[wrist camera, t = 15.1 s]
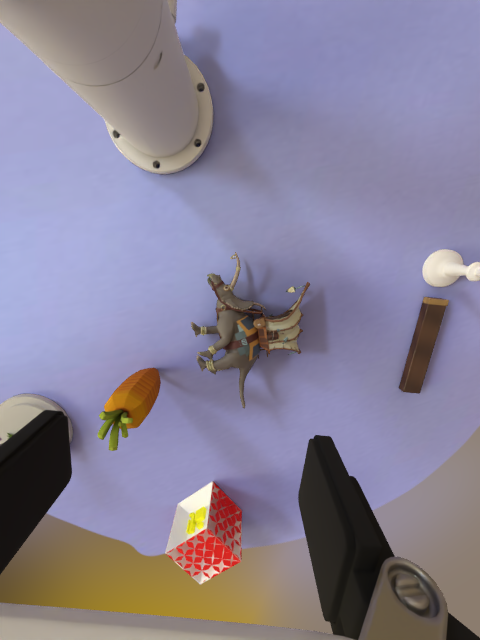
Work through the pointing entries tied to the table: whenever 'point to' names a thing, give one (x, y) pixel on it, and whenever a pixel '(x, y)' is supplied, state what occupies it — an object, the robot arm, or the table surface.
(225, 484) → the table surface
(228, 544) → the red patterned box
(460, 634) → the robot arm
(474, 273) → the chess piece
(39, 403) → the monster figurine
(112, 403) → the carrot
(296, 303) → the figurine
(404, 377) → the walnut stick
